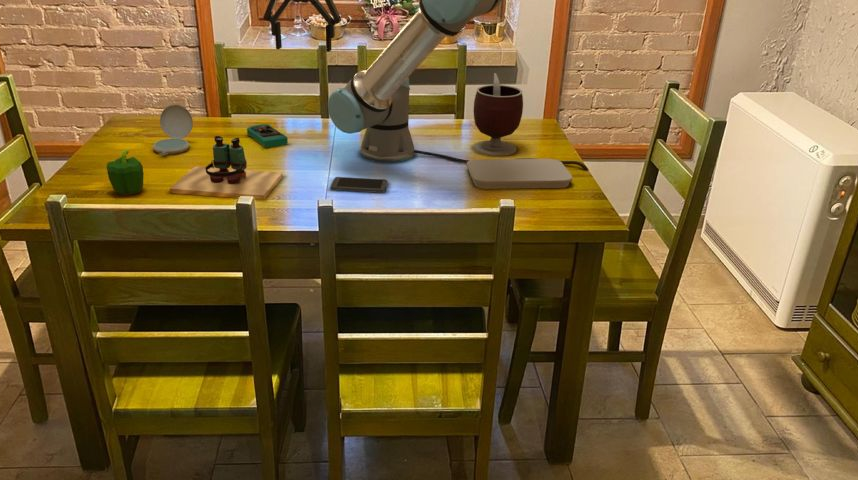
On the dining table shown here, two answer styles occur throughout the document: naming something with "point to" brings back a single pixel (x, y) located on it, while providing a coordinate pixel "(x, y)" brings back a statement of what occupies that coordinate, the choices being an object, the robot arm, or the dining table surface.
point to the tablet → (518, 173)
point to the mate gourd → (497, 116)
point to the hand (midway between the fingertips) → (303, 49)
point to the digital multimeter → (267, 135)
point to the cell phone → (359, 184)
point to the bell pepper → (126, 174)
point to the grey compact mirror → (174, 130)
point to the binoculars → (227, 161)
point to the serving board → (227, 184)
